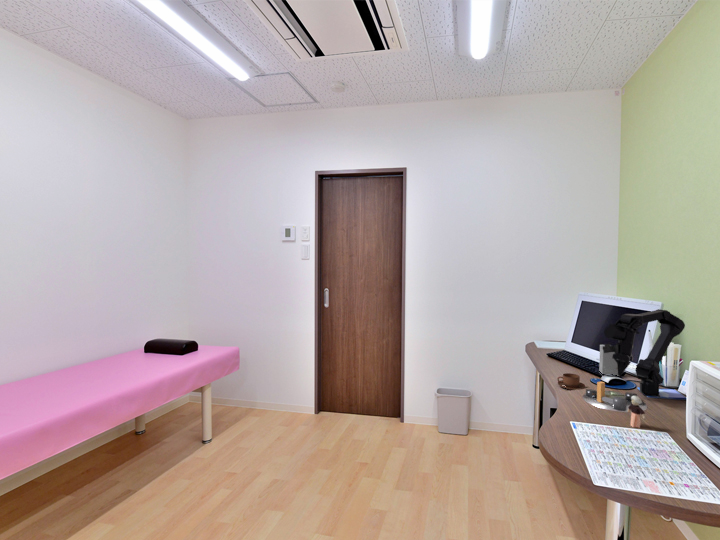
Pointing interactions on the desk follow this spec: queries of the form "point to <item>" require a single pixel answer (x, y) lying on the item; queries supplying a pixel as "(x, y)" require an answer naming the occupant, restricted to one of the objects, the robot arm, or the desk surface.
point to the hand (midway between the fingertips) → (619, 375)
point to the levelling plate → (610, 406)
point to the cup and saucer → (570, 381)
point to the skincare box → (607, 363)
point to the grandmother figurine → (636, 411)
